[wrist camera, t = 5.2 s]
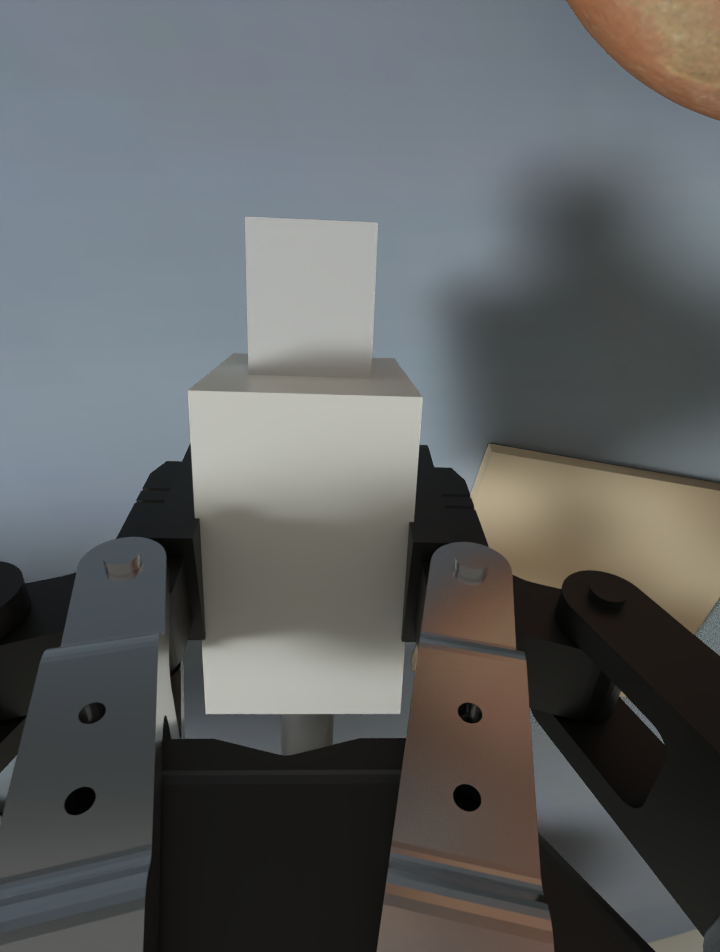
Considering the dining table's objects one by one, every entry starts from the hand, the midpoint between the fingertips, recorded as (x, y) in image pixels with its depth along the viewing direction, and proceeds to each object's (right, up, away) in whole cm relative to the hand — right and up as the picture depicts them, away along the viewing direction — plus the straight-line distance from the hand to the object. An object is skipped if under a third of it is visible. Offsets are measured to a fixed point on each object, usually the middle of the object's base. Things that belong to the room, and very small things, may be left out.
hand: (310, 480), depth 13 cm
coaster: (+10, -4, +11) cm, 15 cm away
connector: (0, 0, +1) cm, 1 cm away
